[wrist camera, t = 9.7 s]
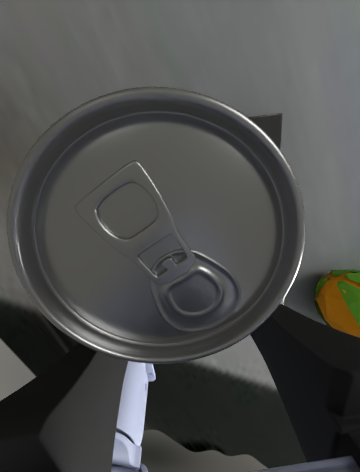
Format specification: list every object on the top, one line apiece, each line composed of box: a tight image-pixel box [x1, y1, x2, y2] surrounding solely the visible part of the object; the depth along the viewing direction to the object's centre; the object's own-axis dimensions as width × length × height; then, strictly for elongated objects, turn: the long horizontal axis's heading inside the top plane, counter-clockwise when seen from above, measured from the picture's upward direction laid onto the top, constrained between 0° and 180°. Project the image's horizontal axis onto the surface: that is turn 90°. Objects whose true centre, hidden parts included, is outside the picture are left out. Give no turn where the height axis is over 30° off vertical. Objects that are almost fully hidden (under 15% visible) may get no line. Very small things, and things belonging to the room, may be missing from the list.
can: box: [7, 87, 305, 364], centre depth 9 cm, size 6×6×12 cm
